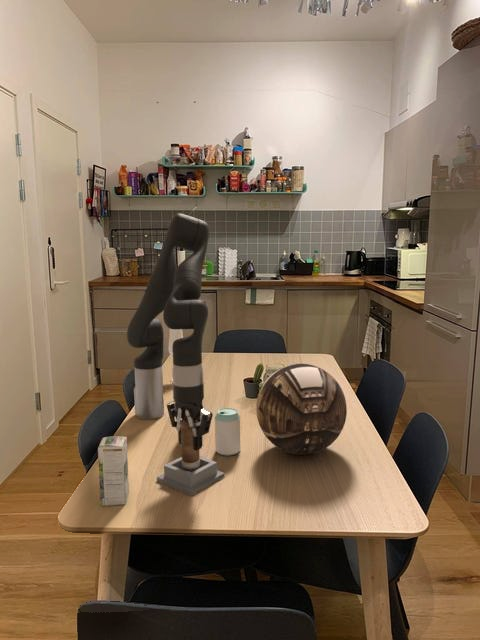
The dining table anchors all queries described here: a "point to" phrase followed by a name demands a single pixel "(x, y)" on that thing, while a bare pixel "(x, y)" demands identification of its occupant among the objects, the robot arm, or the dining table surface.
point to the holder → (190, 476)
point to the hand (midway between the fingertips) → (190, 446)
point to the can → (227, 431)
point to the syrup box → (113, 470)
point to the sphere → (301, 409)
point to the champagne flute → (174, 338)
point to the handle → (188, 448)
